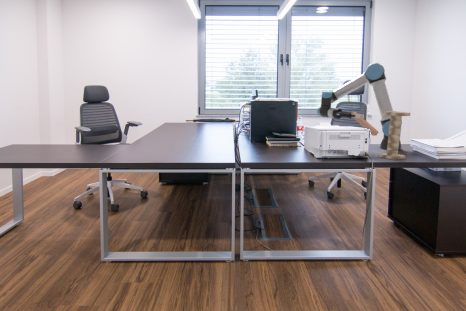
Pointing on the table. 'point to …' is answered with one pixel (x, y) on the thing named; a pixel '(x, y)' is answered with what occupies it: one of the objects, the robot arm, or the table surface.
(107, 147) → the table surface
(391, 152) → the pedestal stand
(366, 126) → the bar
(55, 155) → the table surface
